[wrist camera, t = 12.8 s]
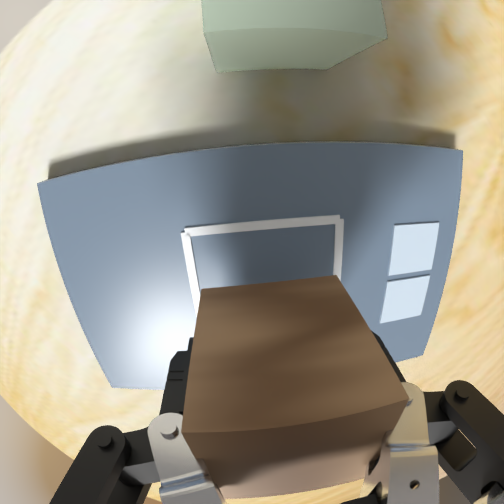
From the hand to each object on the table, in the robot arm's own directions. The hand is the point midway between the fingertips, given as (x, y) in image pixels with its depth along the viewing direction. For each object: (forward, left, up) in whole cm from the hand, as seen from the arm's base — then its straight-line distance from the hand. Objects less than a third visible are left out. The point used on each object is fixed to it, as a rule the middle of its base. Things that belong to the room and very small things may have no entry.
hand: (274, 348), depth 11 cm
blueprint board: (0, 0, -5) cm, 5 cm away
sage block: (-1, -13, -5) cm, 14 cm away
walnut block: (0, 0, -1) cm, 1 cm away
